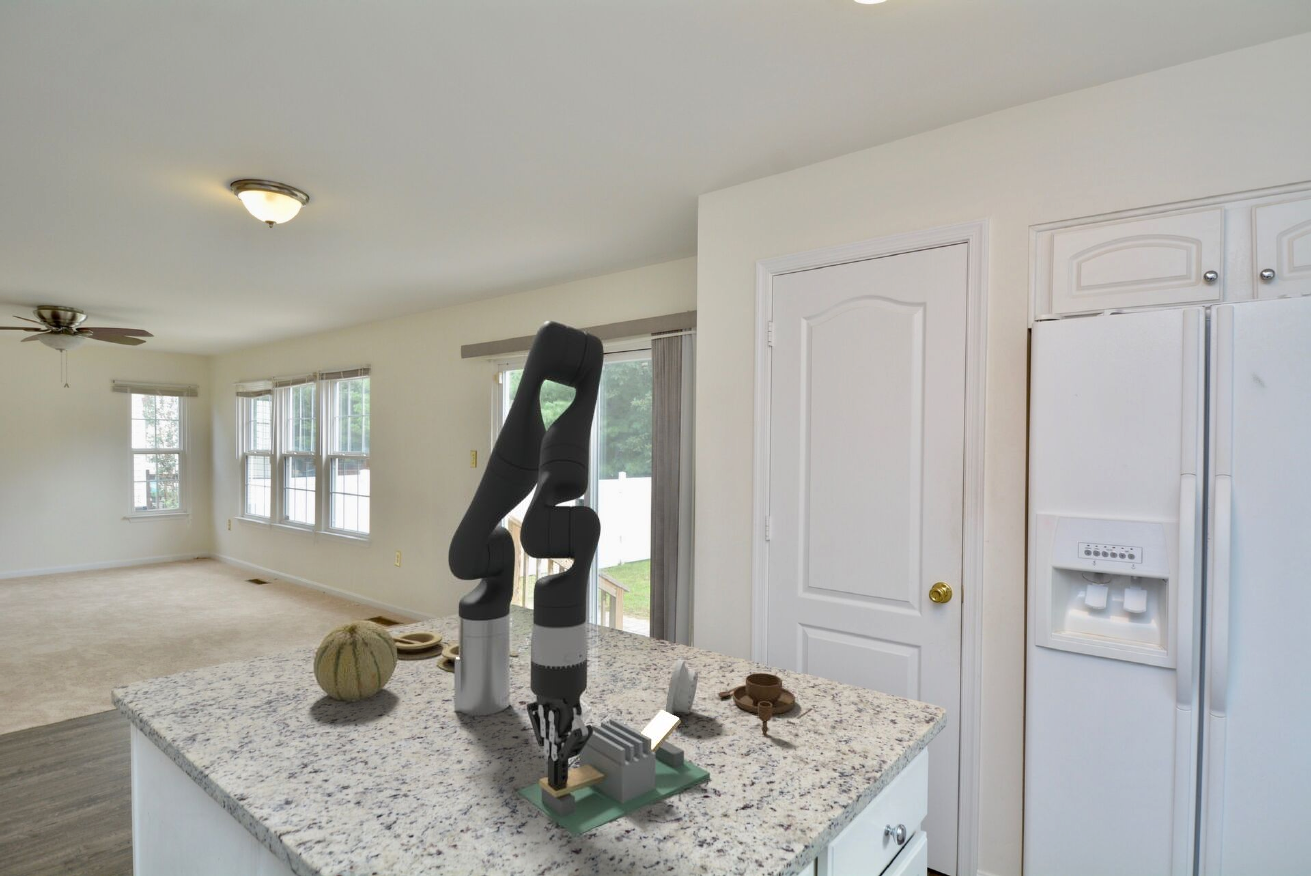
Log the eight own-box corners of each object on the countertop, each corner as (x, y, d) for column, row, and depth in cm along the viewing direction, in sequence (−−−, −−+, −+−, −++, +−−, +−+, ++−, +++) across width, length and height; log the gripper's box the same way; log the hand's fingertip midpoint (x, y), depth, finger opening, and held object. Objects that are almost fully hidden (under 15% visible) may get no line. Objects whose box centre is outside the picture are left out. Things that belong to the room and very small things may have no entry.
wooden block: (646, 762, 100) (644, 758, 100) (628, 752, 103) (626, 748, 103) (680, 722, 105) (679, 718, 104) (663, 713, 108) (661, 709, 107)
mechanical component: (671, 701, 131) (680, 651, 130) (693, 708, 130) (703, 657, 129) (660, 724, 121) (670, 669, 121) (685, 730, 120) (695, 675, 120)
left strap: (555, 797, 90) (555, 791, 90) (539, 785, 93) (539, 779, 93) (604, 781, 95) (604, 775, 95) (587, 770, 98) (587, 764, 98)
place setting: (820, 706, 131) (820, 675, 131) (771, 744, 115) (771, 709, 115) (740, 684, 142) (740, 656, 142) (685, 716, 126) (685, 684, 126)
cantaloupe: (388, 678, 143) (388, 606, 142) (405, 702, 130) (405, 623, 130) (308, 693, 134) (308, 616, 134) (319, 720, 122) (319, 636, 122)
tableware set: (520, 657, 158) (521, 631, 158) (459, 685, 141) (459, 656, 141) (427, 637, 172) (427, 614, 172) (360, 661, 155) (360, 634, 155)
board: (575, 847, 86) (575, 780, 86) (518, 801, 96) (518, 741, 96) (709, 782, 102) (710, 725, 102) (647, 748, 112) (648, 697, 112)
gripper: (611, 661, 90) (609, 794, 90) (555, 638, 100) (553, 757, 100) (563, 674, 85) (561, 814, 85) (509, 648, 95) (507, 774, 95)
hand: (557, 783), depth 92 cm, fingers closed
